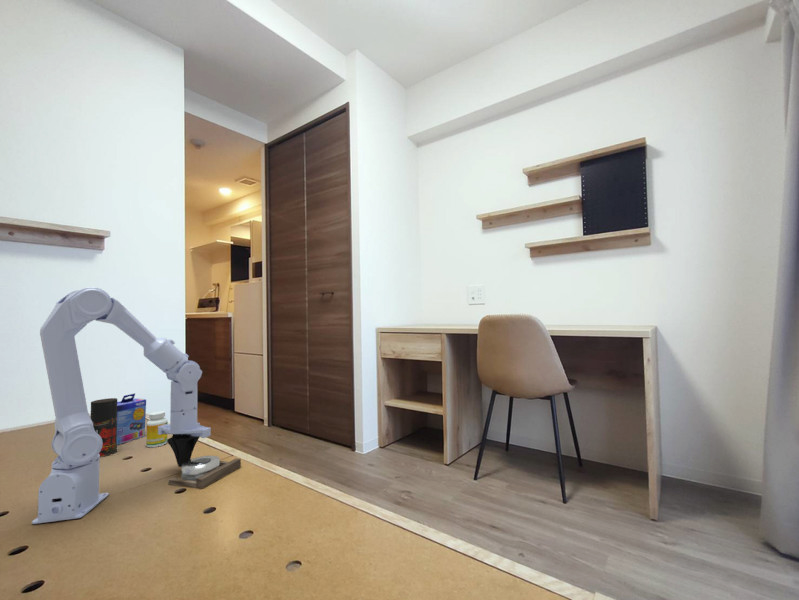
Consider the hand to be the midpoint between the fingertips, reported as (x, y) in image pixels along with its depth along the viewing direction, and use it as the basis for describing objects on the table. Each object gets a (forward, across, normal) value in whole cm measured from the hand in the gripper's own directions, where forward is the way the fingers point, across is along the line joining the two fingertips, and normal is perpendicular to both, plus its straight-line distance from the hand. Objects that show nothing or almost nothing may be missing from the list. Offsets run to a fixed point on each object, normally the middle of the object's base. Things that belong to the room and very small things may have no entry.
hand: (183, 465), depth 88 cm
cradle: (+2, -7, 0) cm, 7 cm away
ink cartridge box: (+2, +40, -15) cm, 43 cm away
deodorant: (+2, +34, -5) cm, 35 cm away
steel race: (+2, -5, 0) cm, 5 cm away
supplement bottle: (+2, +26, -14) cm, 30 cm away
